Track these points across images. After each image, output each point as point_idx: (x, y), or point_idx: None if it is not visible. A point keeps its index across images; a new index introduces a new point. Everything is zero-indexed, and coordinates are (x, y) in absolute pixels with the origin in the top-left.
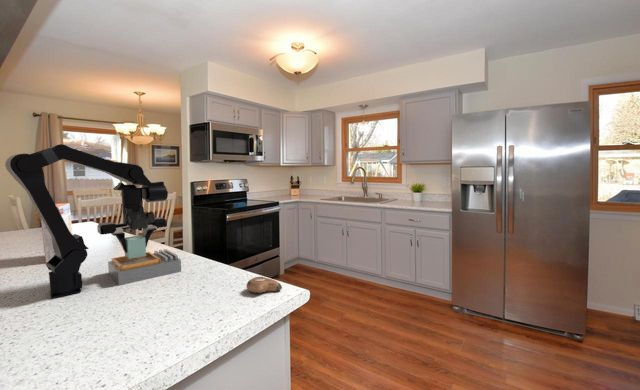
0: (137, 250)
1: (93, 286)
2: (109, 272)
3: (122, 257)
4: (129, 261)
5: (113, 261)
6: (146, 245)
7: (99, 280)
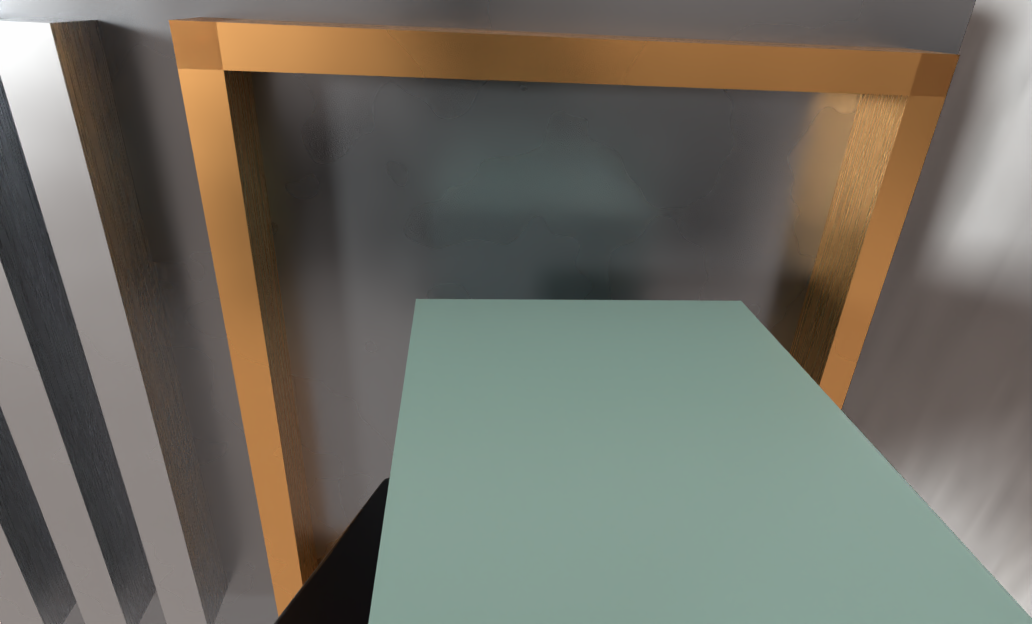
0: (606, 381)
1: (1004, 182)
2: None
3: None
4: None
5: None
6: (345, 537)
7: (868, 345)
